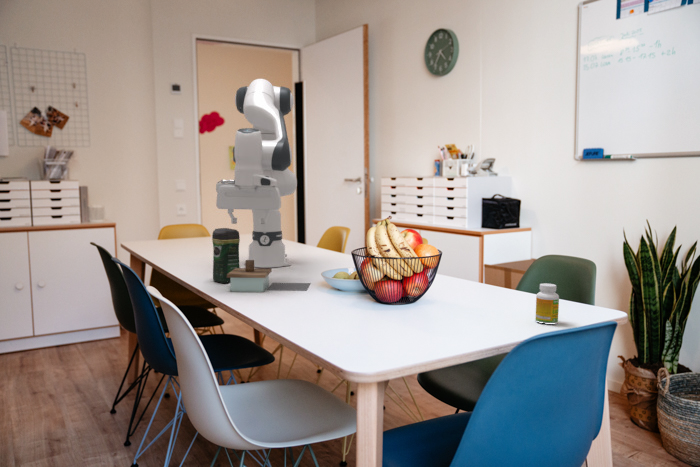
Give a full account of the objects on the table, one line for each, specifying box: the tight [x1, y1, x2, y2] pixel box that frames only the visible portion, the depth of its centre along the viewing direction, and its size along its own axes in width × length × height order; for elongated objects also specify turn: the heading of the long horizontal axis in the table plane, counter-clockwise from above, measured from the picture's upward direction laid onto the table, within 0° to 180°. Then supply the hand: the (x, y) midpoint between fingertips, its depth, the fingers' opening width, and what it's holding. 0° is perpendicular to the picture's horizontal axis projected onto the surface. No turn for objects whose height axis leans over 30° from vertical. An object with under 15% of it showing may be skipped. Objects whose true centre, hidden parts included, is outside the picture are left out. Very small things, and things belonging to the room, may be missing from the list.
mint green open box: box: [230, 274, 270, 293], centre depth 184 cm, size 10×10×5 cm
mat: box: [266, 282, 312, 292], centre depth 188 cm, size 13×13×1 cm
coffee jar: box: [211, 227, 241, 284], centre depth 198 cm, size 10×8×19 cm
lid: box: [227, 259, 272, 278], centre depth 183 cm, size 12×12×4 cm
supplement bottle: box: [535, 282, 560, 324], centre depth 145 cm, size 5×5×10 cm
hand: (249, 223), depth 182 cm, fingers open, 8 cm apart
